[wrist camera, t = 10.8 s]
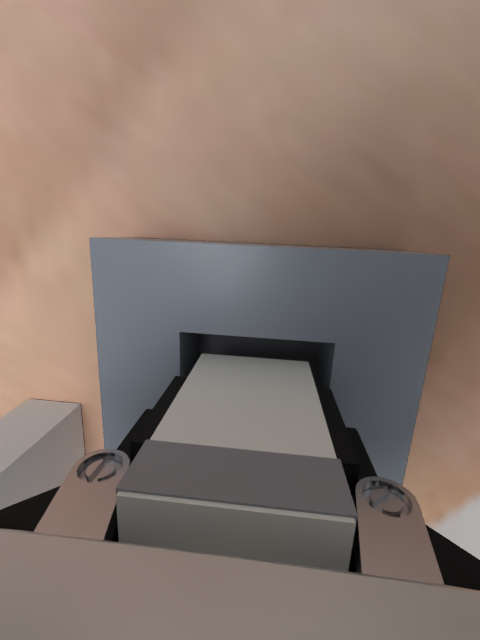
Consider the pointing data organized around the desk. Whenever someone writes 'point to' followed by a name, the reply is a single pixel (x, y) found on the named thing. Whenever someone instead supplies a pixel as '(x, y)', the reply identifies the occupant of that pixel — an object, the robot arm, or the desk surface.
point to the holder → (269, 325)
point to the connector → (242, 469)
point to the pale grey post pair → (38, 448)
